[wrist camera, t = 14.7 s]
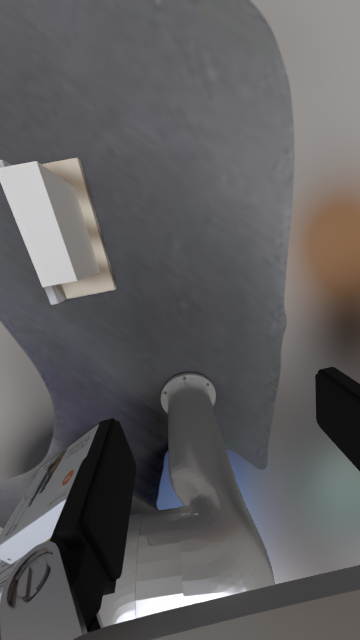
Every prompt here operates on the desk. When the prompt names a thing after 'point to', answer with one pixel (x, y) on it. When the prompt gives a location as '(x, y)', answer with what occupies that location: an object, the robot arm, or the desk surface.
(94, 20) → the desk surface
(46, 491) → the skincare box
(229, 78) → the desk surface
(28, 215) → the carton
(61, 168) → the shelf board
